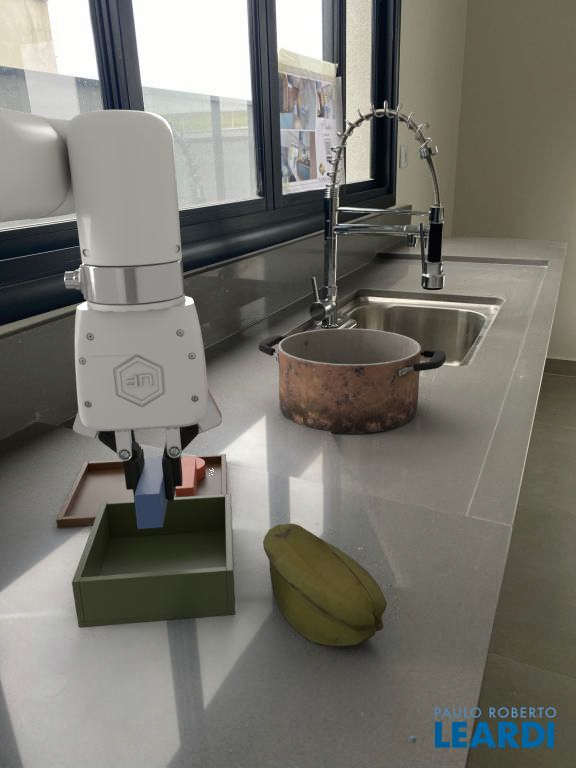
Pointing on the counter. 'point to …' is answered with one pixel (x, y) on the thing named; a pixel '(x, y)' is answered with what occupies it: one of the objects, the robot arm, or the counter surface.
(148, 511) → the blue block
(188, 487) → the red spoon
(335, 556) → the fruit
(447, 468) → the counter surface
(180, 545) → the bin
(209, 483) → the tray
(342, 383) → the cooking pot
